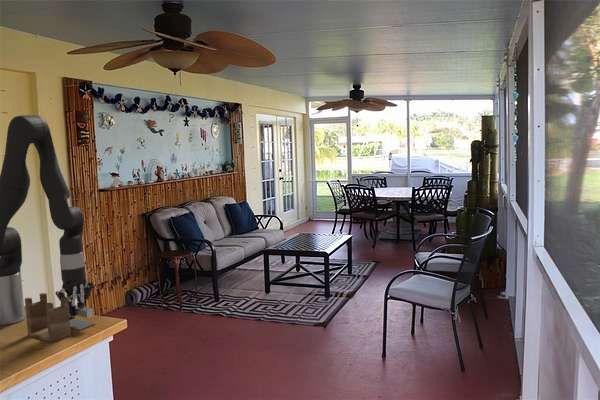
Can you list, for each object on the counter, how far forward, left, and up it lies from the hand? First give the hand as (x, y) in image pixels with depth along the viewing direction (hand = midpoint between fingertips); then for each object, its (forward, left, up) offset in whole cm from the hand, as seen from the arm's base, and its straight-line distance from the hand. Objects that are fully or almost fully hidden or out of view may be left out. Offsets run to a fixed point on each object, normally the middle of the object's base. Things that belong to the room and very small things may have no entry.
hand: (77, 314), depth 173 cm
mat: (0, 0, -4) cm, 4 cm away
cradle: (-1, -10, -4) cm, 11 cm away
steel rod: (0, 0, 0) cm, 0 cm away
